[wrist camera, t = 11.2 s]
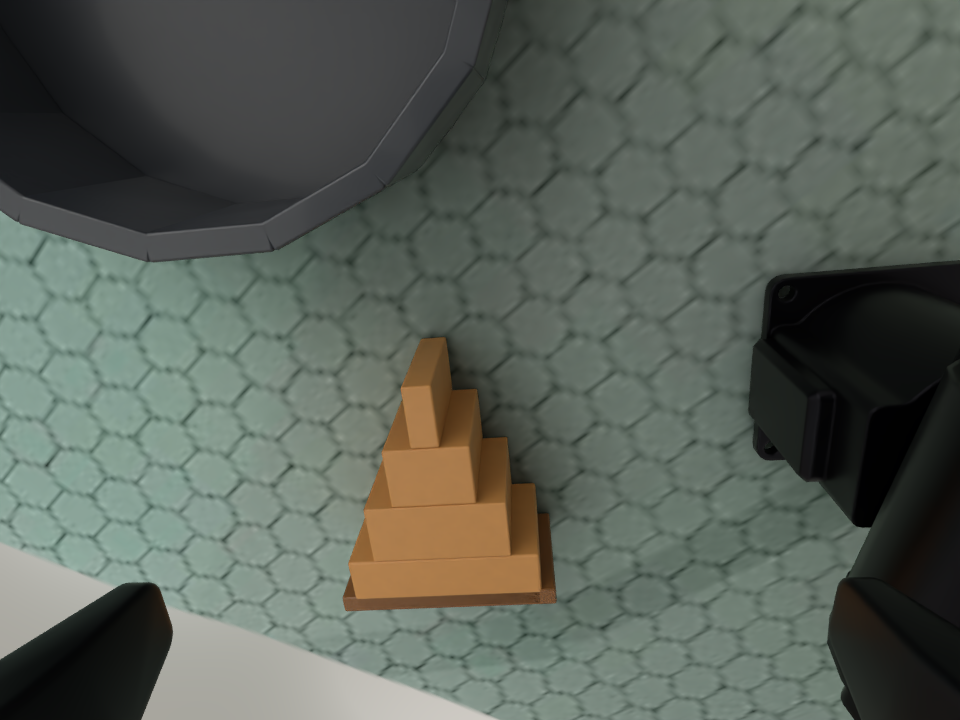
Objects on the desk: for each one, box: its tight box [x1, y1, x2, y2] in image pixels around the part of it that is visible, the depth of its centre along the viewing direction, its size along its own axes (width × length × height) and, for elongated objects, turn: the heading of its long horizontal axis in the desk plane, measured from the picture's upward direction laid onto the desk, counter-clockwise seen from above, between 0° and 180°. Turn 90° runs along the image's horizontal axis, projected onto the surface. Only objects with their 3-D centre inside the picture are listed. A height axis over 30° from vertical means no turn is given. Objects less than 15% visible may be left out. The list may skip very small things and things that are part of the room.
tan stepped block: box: [343, 337, 557, 611], centre depth 20 cm, size 8×7×4 cm
